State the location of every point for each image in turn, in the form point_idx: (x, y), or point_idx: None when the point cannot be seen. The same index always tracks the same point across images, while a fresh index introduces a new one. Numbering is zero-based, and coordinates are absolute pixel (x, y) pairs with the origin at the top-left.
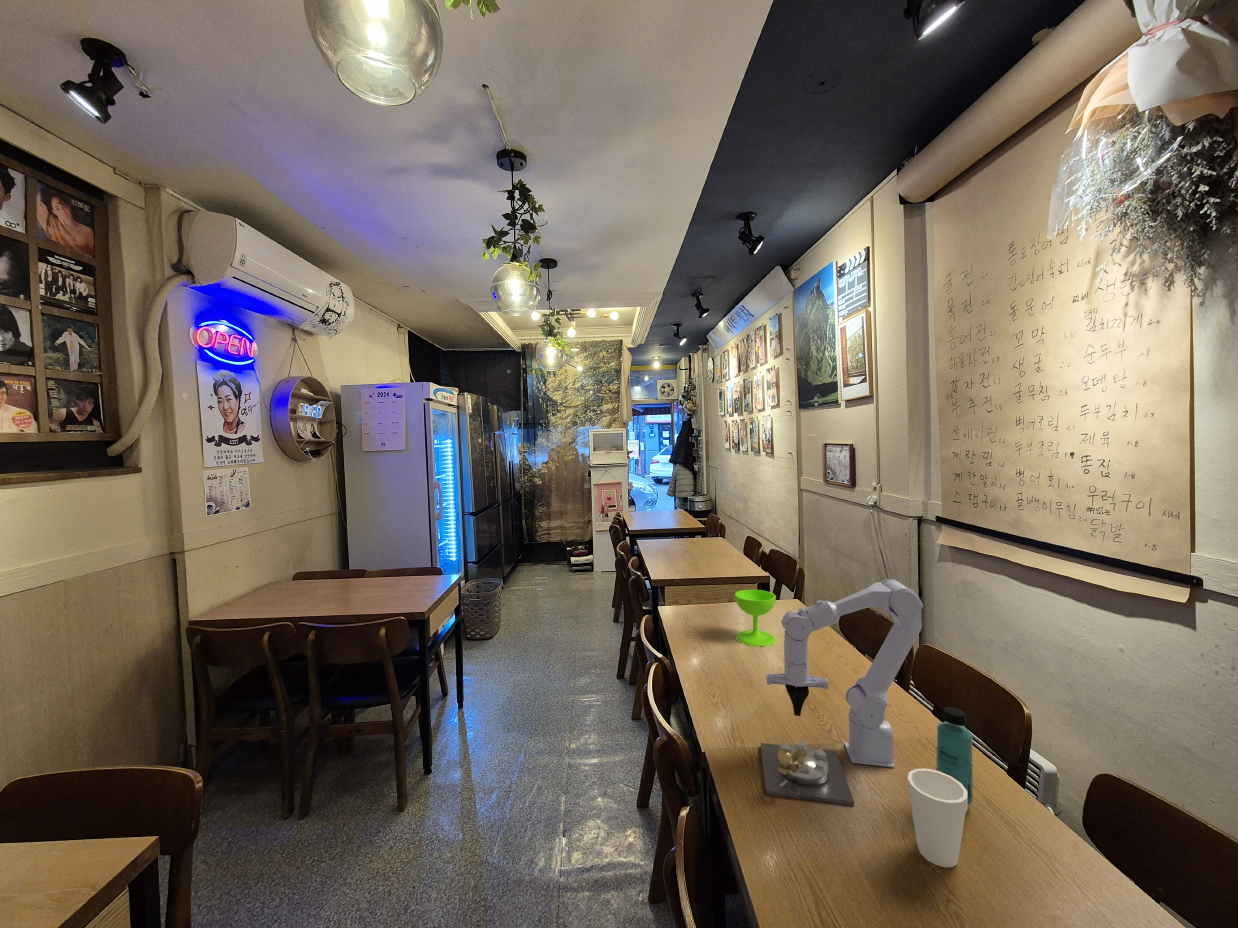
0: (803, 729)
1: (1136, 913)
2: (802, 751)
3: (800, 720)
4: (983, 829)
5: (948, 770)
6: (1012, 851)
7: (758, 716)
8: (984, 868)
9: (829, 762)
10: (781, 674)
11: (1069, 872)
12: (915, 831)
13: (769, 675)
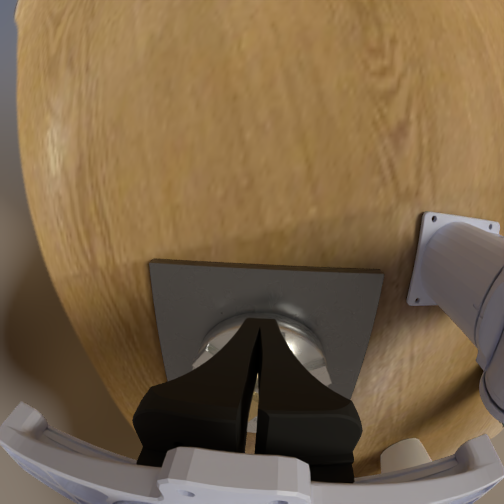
0: (313, 128)
1: (492, 436)
2: (256, 406)
3: (311, 70)
4: (480, 401)
5: (502, 424)
6: (476, 419)
7: (158, 75)
8: (430, 448)
9: (344, 331)
10: (76, 472)
11: (493, 421)
12: (384, 469)
13: (14, 443)
